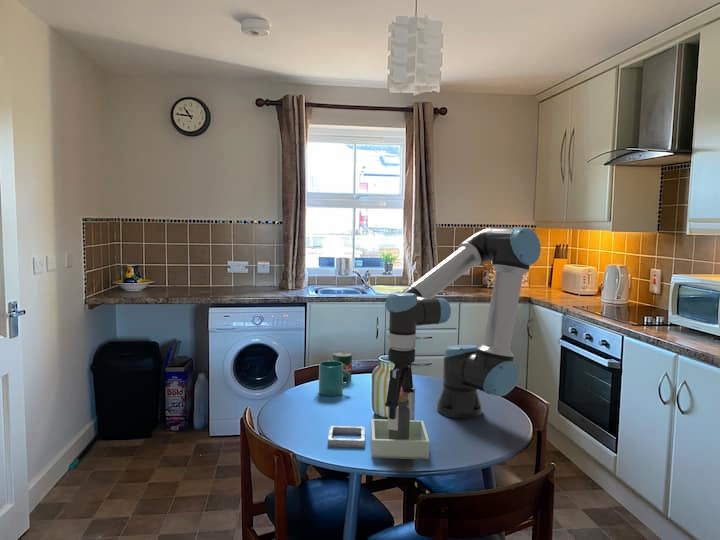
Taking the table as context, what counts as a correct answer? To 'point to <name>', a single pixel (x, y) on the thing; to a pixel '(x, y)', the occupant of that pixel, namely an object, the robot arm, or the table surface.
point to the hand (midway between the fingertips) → (399, 421)
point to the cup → (332, 378)
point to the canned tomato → (344, 362)
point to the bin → (399, 441)
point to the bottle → (402, 419)
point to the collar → (346, 442)
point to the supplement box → (411, 404)
